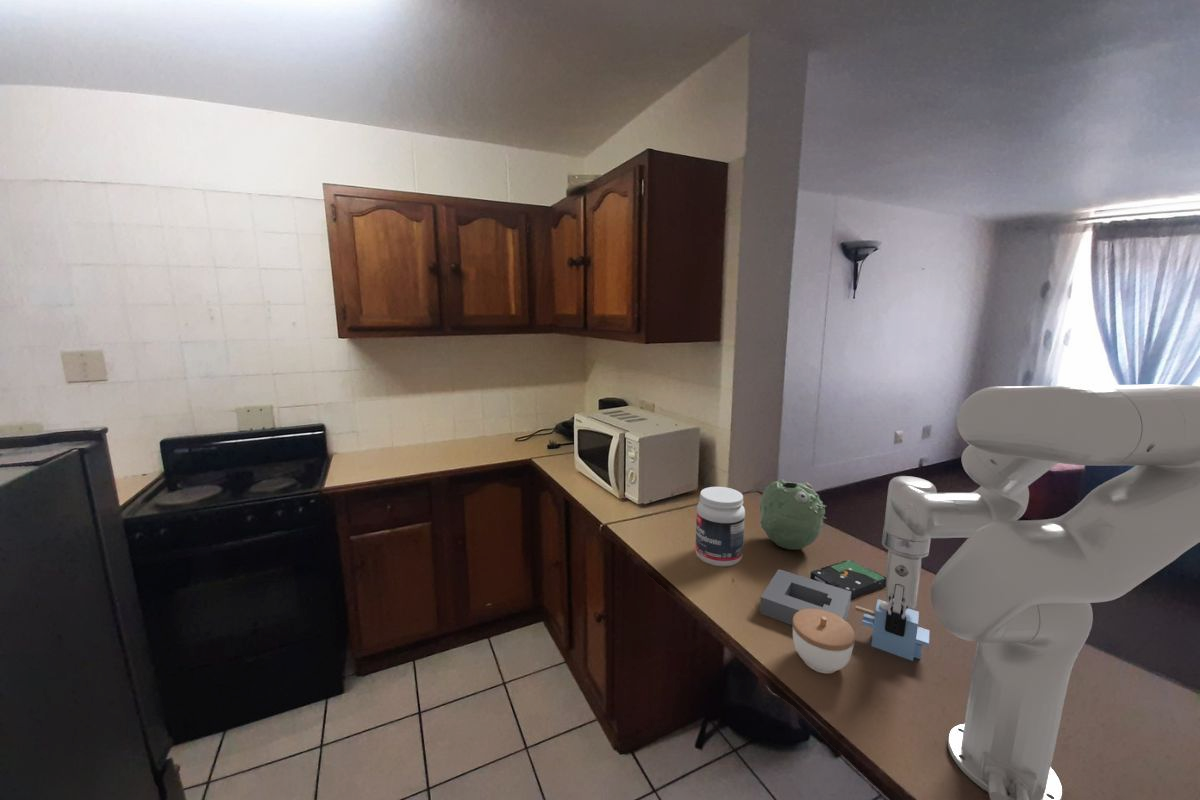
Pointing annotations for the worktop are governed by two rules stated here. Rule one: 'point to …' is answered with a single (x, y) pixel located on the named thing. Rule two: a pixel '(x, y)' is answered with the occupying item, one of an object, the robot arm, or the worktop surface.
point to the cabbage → (791, 514)
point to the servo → (891, 642)
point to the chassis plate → (801, 597)
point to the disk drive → (850, 577)
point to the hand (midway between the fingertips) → (895, 625)
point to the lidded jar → (822, 639)
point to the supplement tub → (720, 526)
